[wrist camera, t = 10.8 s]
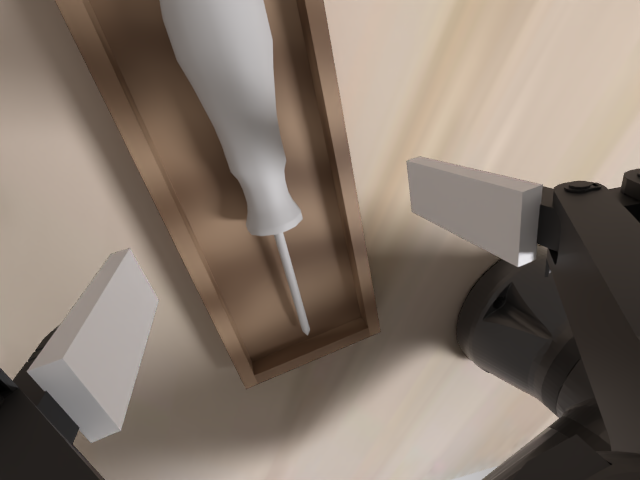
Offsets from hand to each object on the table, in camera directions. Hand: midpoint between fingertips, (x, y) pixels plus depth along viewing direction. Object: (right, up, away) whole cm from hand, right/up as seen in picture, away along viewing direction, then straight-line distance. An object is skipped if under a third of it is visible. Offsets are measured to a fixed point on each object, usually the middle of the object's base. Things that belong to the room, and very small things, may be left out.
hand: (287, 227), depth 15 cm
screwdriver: (-2, +3, +6) cm, 7 cm away
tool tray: (-3, +3, +7) cm, 8 cm away
